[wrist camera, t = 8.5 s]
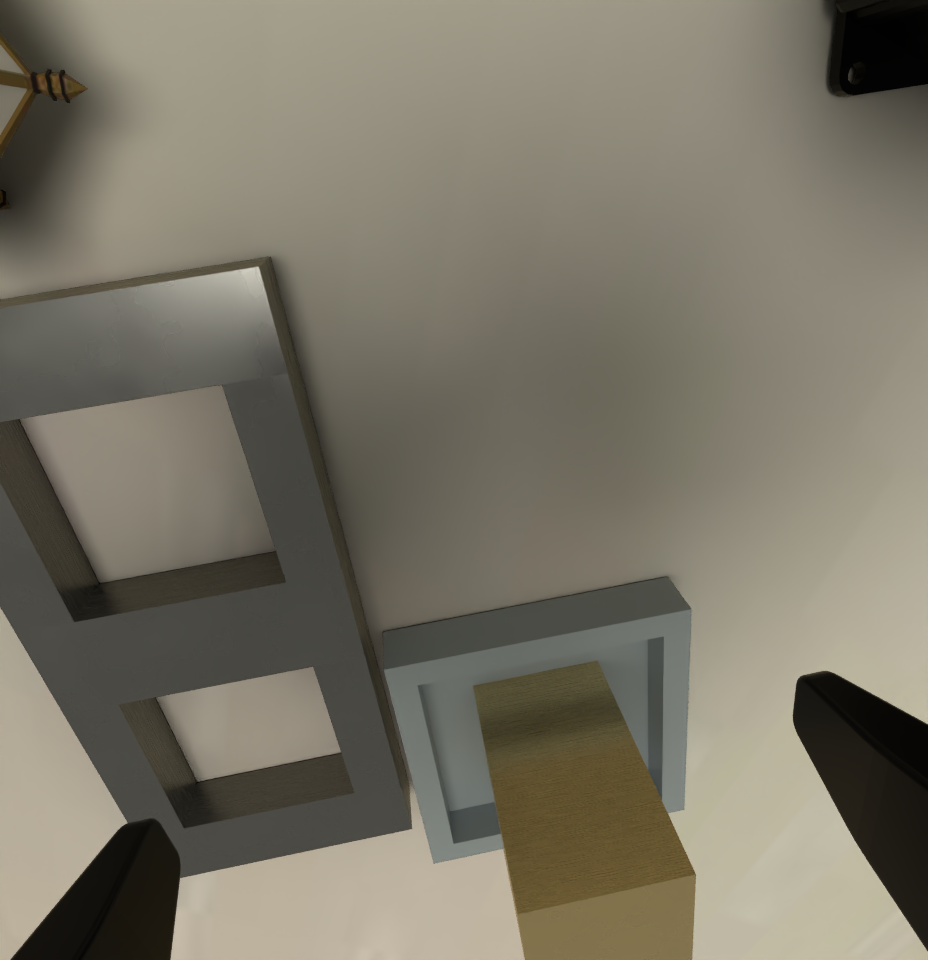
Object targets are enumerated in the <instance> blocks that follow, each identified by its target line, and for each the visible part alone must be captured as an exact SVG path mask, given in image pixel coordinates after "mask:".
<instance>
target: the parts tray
mask: <svg viewBox="0 0 928 960" xmlns="http://www.w3.org/2000/svg"><path fill="white" fill-rule="evenodd" d="M690 636H691V608H690V606H689V605H688V604H687V602H686V601H685V600H684V598H683V597H682V595H681V594H680V593H679V591H678V590H677V589H676V587H675V586H674V584H673V583H672V582H671V580H670V579H669V578H668V577H664V578H659V579H654V580H648V581H643V582H638V583H633V584H628V585H623V586H618V587H612V588H607V589H602V590H597V591H592V592H587V593H582V594H576V595H571V596H566V597H561V598H556V599H551V600H545V601H540V602H535V603H530V604H525V605H520V606H515V607H509V608H504V609H499V610H494V611H489V612H484V613H478V614H473V615H468V616H463V617H458V618H453V619H448V620H442V621H437V622H432V623H427V624H422V625H417V626H411V627H406V628H401V629H396V630H391V631H386V632H383V656H384V673H385V676H386V680H387V684H388V688H389V692H390V696H391V700H392V704H393V707H394V711H395V715H396V719H397V723H398V727H399V731H400V735H401V738H402V742H403V746H404V750H405V754H406V758H407V762H408V766H409V769H410V773H411V777H412V781H413V785H414V789H415V793H416V797H417V800H418V804H419V808H420V812H421V816H422V820H423V824H424V828H425V831H426V835H427V839H428V843H429V847H430V851H431V855H432V859H433V863H434V864H435V863H439V862H444V861H448V860H453V859H458V858H462V857H467V856H472V855H476V854H481V853H486V852H490V851H495V850H499V849H503V844H502V839H501V834H500V829H499V823H498V818H497V813H496V808H495V803H494V798H493V792H492V787H491V782H490V777H489V772H488V766H487V761H486V755H485V750H484V744H483V739H482V733H481V728H480V722H479V717H478V711H477V706H476V700H475V695H474V689H473V686H474V685H479V684H484V683H489V682H493V681H498V680H503V679H508V678H513V677H518V676H523V675H528V674H533V673H538V672H542V671H547V670H552V669H557V668H562V667H567V666H572V665H577V664H582V663H587V662H591V661H596V660H598V663H599V665H600V667H601V669H602V671H603V673H604V676H605V678H606V680H607V682H608V684H609V686H610V689H611V691H612V693H613V695H614V697H615V700H616V702H617V704H618V706H619V708H620V710H621V713H622V715H623V717H624V719H625V721H626V724H627V726H628V728H629V730H630V732H631V734H632V737H633V739H634V741H635V743H636V745H637V747H638V750H639V752H640V754H641V756H642V758H643V761H644V763H645V765H646V767H647V769H648V771H649V774H650V776H651V778H652V780H653V782H654V784H655V787H656V789H657V791H658V793H659V795H660V798H661V800H662V802H663V804H664V806H665V808H666V811H667V813H671V812H676V811H680V810H684V803H685V775H686V747H687V719H688V691H689V664H690Z"/></svg>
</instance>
